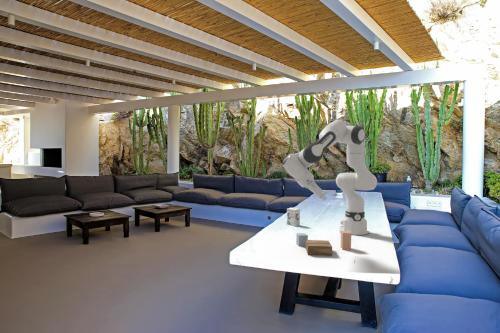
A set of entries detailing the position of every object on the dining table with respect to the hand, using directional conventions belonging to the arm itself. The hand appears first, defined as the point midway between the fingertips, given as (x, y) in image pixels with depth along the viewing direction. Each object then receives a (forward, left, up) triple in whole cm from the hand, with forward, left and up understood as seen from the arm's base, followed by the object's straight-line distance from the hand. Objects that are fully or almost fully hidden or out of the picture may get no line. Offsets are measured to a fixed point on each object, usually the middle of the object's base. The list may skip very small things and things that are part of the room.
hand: (323, 198), depth 184 cm
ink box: (-58, -11, -27) cm, 65 cm away
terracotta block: (0, +12, -27) cm, 30 cm away
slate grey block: (-5, -11, -27) cm, 30 cm away
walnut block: (+8, -4, -27) cm, 29 cm away
